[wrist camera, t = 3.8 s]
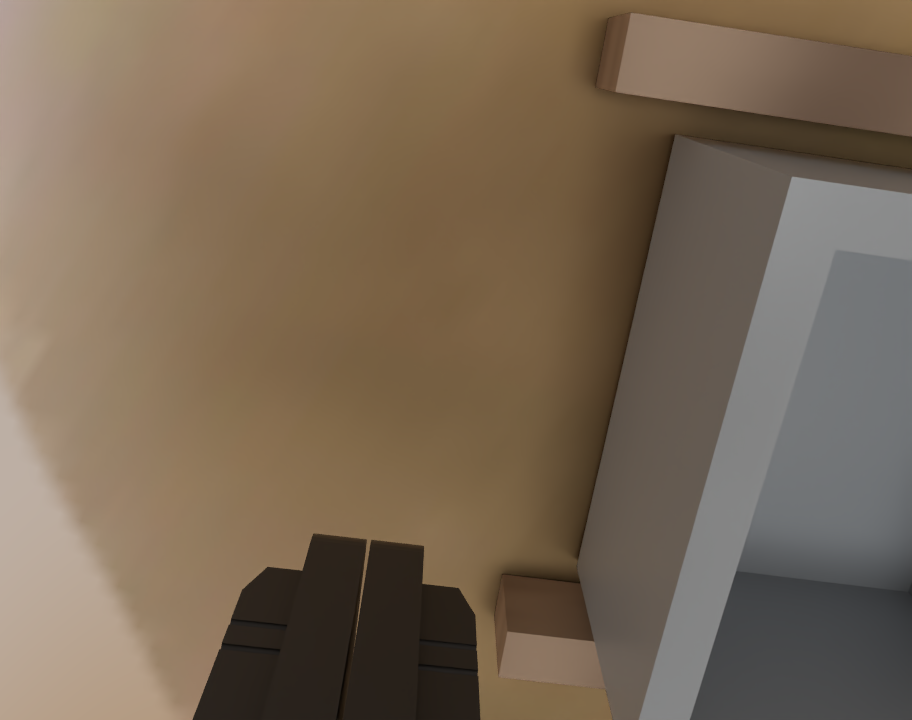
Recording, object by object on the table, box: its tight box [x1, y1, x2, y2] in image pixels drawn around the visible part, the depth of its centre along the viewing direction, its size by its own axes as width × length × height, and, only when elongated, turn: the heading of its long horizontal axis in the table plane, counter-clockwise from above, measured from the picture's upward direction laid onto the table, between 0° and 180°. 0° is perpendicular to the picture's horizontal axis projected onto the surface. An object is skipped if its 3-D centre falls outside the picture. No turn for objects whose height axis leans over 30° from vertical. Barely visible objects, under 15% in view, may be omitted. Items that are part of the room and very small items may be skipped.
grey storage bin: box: [577, 134, 912, 720], centre depth 18 cm, size 10×12×7 cm
